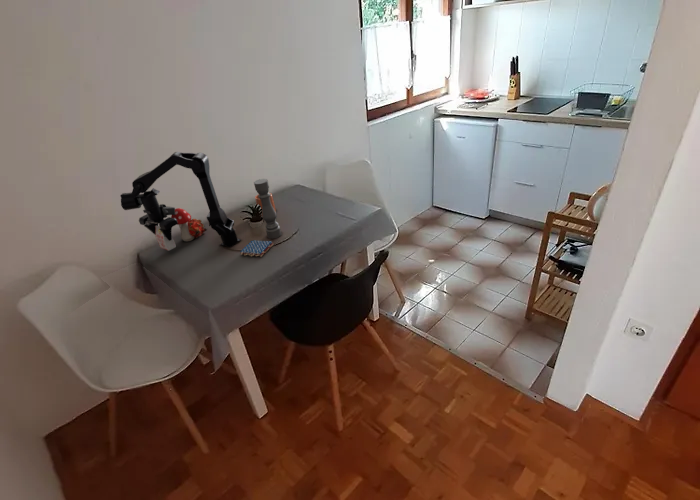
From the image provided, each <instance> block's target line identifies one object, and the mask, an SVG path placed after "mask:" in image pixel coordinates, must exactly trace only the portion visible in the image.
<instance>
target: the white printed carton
mask: <svg viewBox="0 0 700 500" xmlns="http://www.w3.org/2000/svg"><path fill="white" fill-rule="evenodd" d="M155 228H156V232H155V234H154V236H155V238H156V240H157V244H158V245H159V248H160V249H163V250H165V251H168V252H169V251H171V250H173V249H175V248H176V247H177V245H176V242H175V240H174V238H173V236H172V240H170V241H169V240H168V239H167V238H166V237H165V236H164V234H163V233H162V232H161V231H160V230H159V229H160V226H159V225H158V226H155Z"/></svg>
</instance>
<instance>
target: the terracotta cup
mask: <svg viewBox="0 0 700 500" xmlns="http://www.w3.org/2000/svg"><path fill="white" fill-rule="evenodd" d="M268 193H270V195H271V196H270V201H271V204H272V206H273V208H274V210H275V212H276V213H277V208H276V204H275V201H274V197H273V193H272V192H268ZM258 195H259V194H258V193H257V194H256V195H255V196H254V199H255V203H256V206H257V205H258V204H259V205H260V206H261V209H262V203H261V199H259V198H258Z"/></svg>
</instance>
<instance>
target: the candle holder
mask: <svg viewBox="0 0 700 500" xmlns="http://www.w3.org/2000/svg"><path fill="white" fill-rule="evenodd" d="M253 185H254V189H255V191H256V193H257V195H258V194H259V195H258V198H259V199H261V203H262V216H261V218H262V220H263V221H264V222H265V223H266V224H265V232H266V236H267V238H268V239H270V240H271V239H277V238H279V237H281V236H282V231H281V226H280V225H279V222H278V221H277V217H278V215H277V211H276V212H275V210H274V208H273V206H272V204H271V201H270V196H271V195H270V193H271V192H269V190H270V185H269V181H268V178H259V179H256V180H255V181H253ZM268 192H269V193H268Z"/></svg>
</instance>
